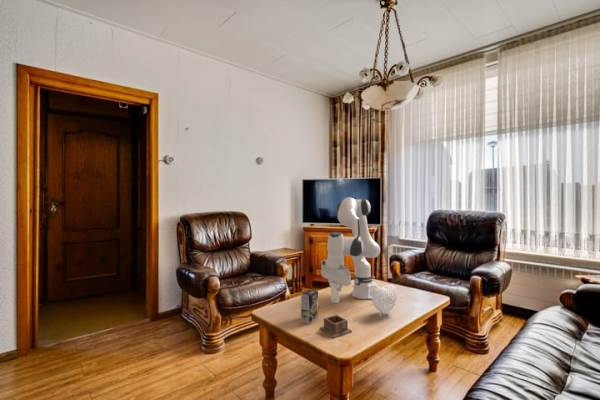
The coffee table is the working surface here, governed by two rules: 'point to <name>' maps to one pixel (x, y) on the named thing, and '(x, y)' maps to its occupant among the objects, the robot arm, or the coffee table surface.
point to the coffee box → (309, 306)
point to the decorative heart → (384, 298)
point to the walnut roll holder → (335, 326)
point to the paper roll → (334, 292)
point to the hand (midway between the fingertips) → (335, 289)
